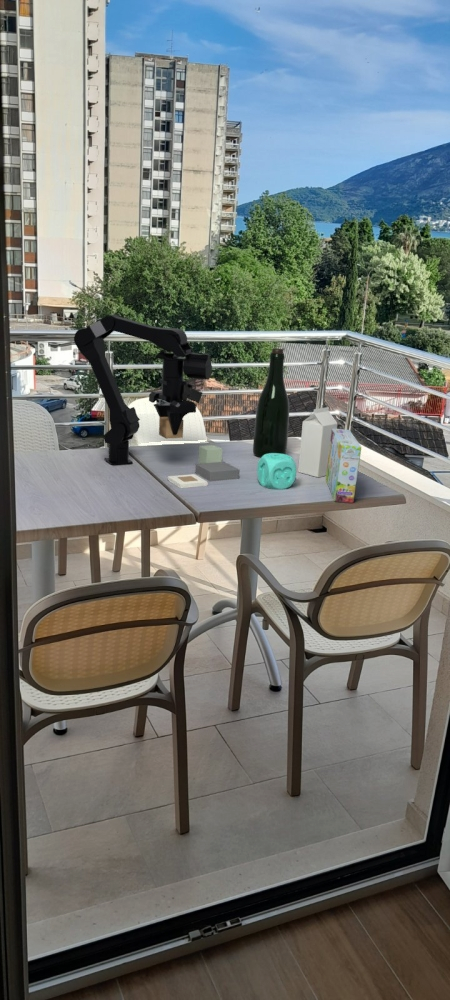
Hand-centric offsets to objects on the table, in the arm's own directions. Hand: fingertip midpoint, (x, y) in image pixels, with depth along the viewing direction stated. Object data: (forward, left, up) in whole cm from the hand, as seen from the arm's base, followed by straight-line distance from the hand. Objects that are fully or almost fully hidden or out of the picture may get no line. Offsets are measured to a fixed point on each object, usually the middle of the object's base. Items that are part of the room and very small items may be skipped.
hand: (170, 432), depth 208 cm
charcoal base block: (+10, +10, -11) cm, 18 cm away
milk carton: (+16, +39, -11) cm, 43 cm away
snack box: (+33, +35, -11) cm, 49 cm away
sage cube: (-2, +14, -11) cm, 18 cm away
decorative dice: (+23, +21, -11) cm, 33 cm away
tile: (+14, -1, -10) cm, 18 cm away
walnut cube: (0, 0, -1) cm, 1 cm away
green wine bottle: (-6, +37, -11) cm, 39 cm away
